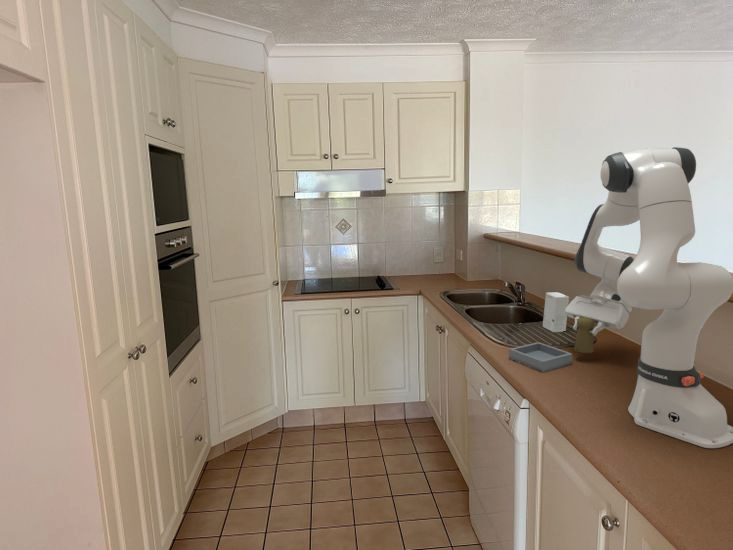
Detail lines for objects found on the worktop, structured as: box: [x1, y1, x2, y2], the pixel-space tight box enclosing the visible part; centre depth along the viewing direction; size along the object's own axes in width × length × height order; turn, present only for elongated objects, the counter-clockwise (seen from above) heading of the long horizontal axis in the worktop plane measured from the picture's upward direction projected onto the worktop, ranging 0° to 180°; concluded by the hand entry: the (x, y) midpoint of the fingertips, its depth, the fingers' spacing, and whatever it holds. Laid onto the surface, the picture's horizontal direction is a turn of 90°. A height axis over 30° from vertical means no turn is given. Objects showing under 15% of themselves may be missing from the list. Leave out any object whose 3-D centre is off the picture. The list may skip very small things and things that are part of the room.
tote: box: [508, 341, 574, 373], centre depth 156 cm, size 14×14×4 cm
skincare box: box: [542, 291, 570, 333], centre depth 190 cm, size 8×6×15 cm
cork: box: [573, 317, 595, 354], centre depth 155 cm, size 6×6×11 cm
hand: (583, 331), depth 155 cm, fingers closed on cork, 5 cm apart
